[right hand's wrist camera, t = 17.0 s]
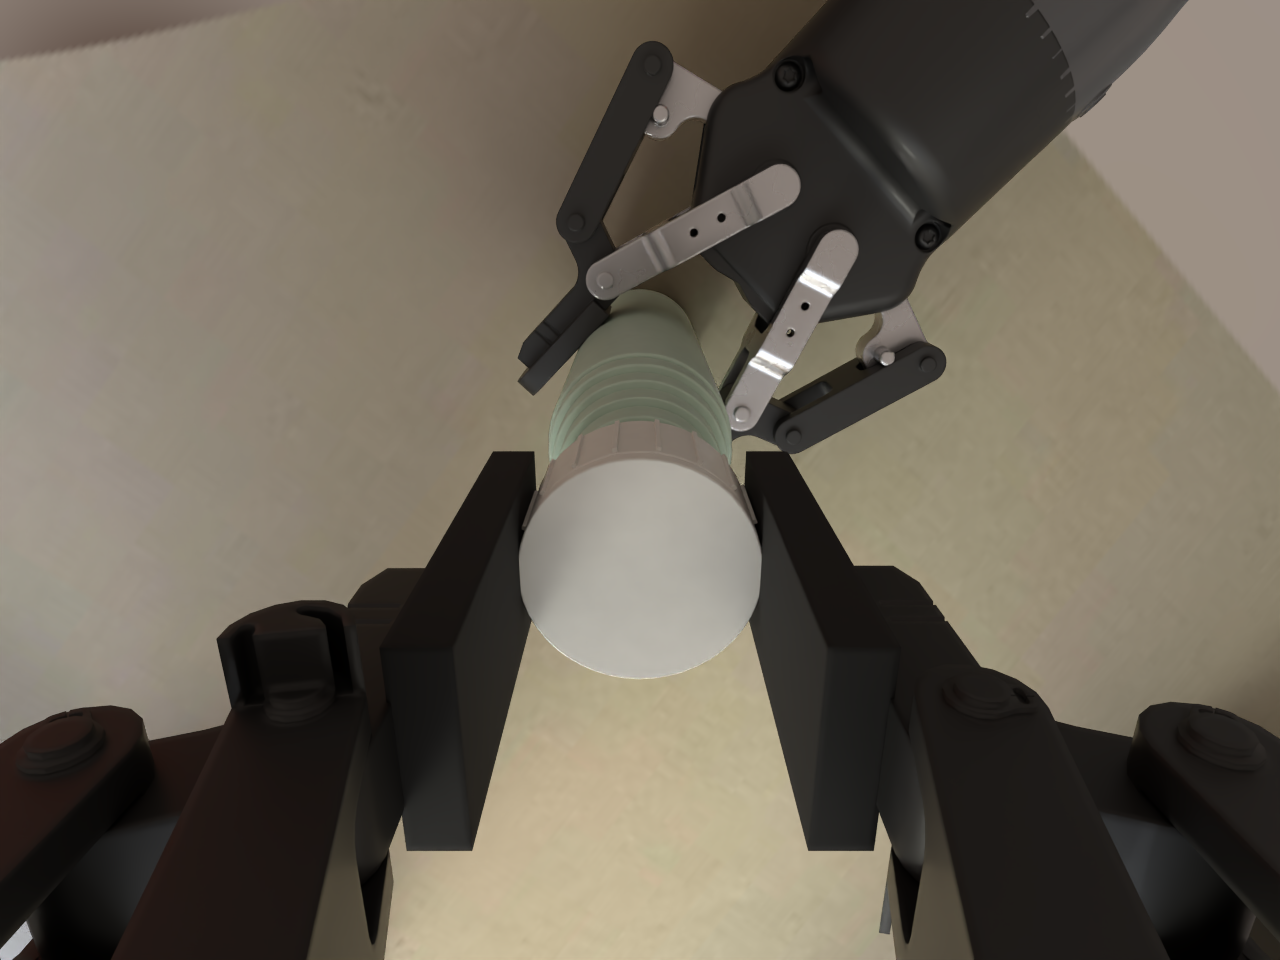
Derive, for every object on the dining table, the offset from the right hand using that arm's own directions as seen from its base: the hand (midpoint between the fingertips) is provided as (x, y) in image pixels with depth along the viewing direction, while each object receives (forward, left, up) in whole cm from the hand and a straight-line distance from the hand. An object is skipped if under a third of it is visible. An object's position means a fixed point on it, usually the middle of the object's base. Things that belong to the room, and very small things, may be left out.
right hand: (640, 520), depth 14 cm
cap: (0, 0, +2) cm, 2 cm away
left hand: (-1, +2, -12) cm, 12 cm away
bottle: (0, 0, -18) cm, 18 cm away
